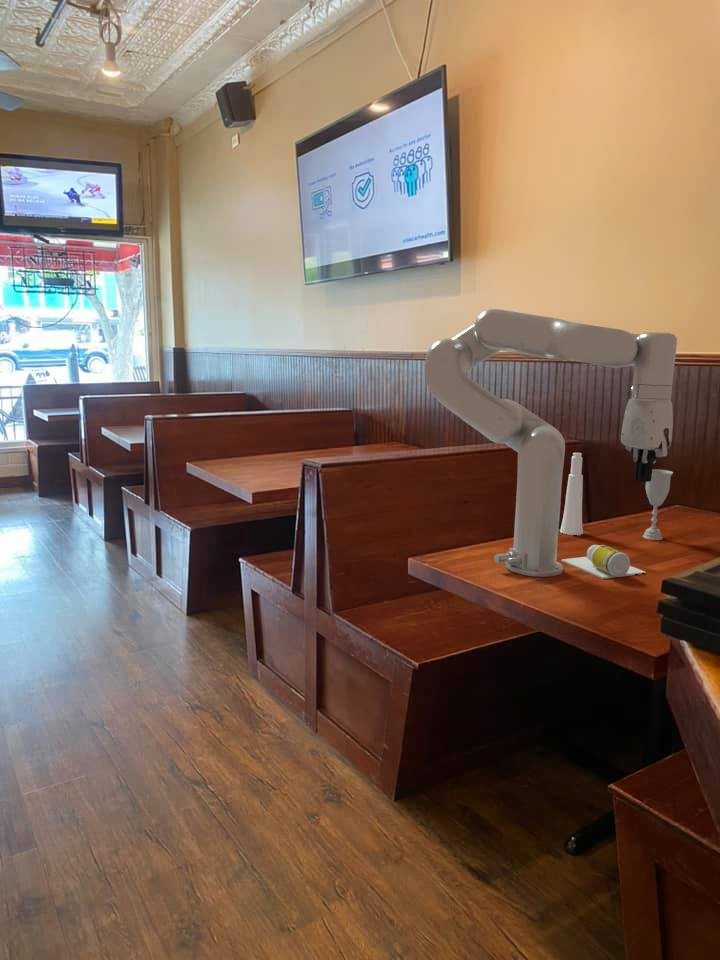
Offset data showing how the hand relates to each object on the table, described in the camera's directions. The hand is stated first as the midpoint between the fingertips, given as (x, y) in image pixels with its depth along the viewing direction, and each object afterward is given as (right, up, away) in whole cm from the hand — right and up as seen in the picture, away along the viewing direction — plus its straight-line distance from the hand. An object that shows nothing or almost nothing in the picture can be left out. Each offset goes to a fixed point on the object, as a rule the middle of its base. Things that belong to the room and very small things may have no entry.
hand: (642, 480), depth 147 cm
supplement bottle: (-3, -18, +3) cm, 19 cm away
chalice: (+19, -15, +40) cm, 47 cm away
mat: (-4, -20, +12) cm, 24 cm away
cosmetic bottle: (-2, -14, +43) cm, 46 cm away
